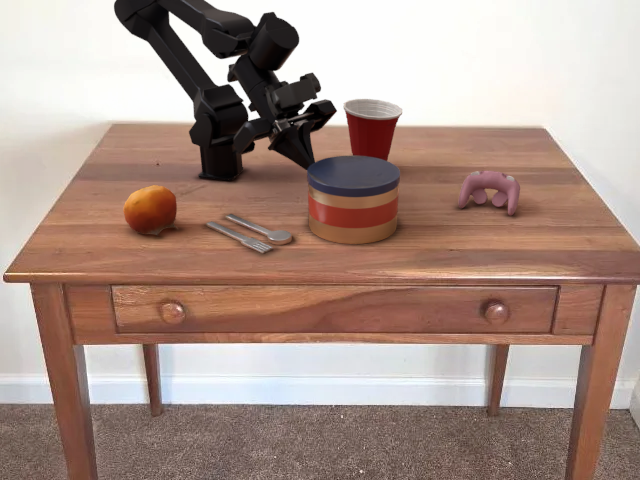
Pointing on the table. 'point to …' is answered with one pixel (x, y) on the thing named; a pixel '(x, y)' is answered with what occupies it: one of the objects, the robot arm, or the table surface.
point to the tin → (353, 199)
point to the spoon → (263, 231)
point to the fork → (241, 238)
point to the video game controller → (490, 180)
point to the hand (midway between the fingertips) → (313, 170)
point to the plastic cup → (371, 126)
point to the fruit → (151, 210)
